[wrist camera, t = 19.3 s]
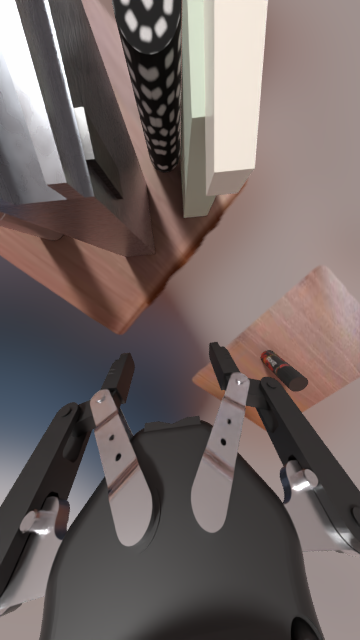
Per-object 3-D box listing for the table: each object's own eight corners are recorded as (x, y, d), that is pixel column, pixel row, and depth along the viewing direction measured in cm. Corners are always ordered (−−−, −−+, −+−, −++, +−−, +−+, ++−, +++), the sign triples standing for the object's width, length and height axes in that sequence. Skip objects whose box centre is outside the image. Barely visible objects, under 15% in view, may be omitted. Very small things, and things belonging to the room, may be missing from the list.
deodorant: (270, 363, 56) (301, 392, 42) (258, 360, 56) (285, 389, 41) (277, 351, 54) (311, 378, 40) (264, 349, 54) (294, 375, 40)
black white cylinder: (186, 155, 35) (195, 9, 16) (162, 180, 36) (145, 74, 17) (166, 120, 32) (148, -100, 13) (142, 148, 34) (96, -14, 15)
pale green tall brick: (183, 217, 39) (191, 117, 14) (180, 165, 35) (183, -95, 10) (207, 215, 39) (255, 110, 14) (206, 162, 35) (270, -108, 10)
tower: (125, 256, 42) (-47, 194, 10) (111, 186, 37) (-395, -478, 4) (157, 253, 42) (88, 180, 10) (148, 182, 36) (-89, -550, 4)
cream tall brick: (206, 196, 17) (214, 172, 13) (199, -239, 9) (215, -619, 5) (237, 192, 17) (254, 168, 13) (258, -249, 9) (318, -646, 5)
